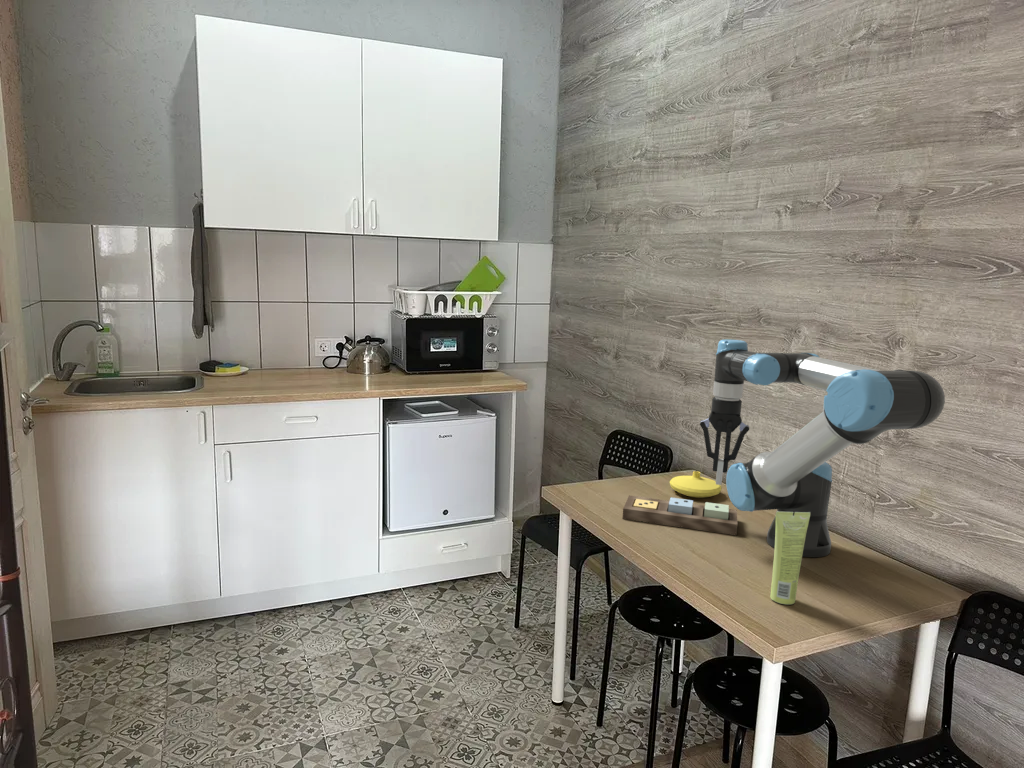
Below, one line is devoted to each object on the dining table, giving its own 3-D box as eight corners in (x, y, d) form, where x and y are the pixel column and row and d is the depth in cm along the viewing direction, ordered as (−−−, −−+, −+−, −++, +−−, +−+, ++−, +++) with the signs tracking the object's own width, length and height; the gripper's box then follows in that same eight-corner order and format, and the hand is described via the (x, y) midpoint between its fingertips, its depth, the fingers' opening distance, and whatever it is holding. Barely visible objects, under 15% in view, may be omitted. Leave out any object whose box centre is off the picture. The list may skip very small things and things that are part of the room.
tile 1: (727, 515, 190) (728, 504, 189) (727, 523, 184) (728, 511, 183) (704, 512, 191) (705, 501, 191) (703, 519, 186) (704, 508, 185)
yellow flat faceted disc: (702, 505, 203) (705, 483, 202) (658, 491, 215) (660, 470, 214) (730, 495, 214) (732, 474, 213) (687, 483, 225) (689, 462, 224)
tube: (776, 591, 149) (786, 505, 146) (800, 599, 146) (810, 511, 142) (765, 599, 145) (775, 511, 142) (789, 608, 141) (800, 518, 138)
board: (735, 520, 192) (736, 510, 192) (736, 535, 181) (737, 524, 180) (628, 505, 201) (629, 495, 200) (622, 518, 189) (623, 508, 189)
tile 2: (692, 510, 192) (693, 499, 192) (691, 517, 186) (692, 506, 186) (669, 507, 194) (670, 496, 194) (667, 514, 188) (668, 503, 188)
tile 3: (657, 511, 195) (658, 501, 195) (655, 519, 189) (656, 507, 189) (635, 508, 197) (636, 498, 197) (632, 515, 191) (633, 504, 191)
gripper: (752, 398, 184) (743, 482, 188) (702, 393, 188) (694, 476, 192) (753, 402, 177) (744, 490, 181) (701, 397, 181) (693, 484, 184)
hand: (718, 483), depth 186 cm, fingers closed
